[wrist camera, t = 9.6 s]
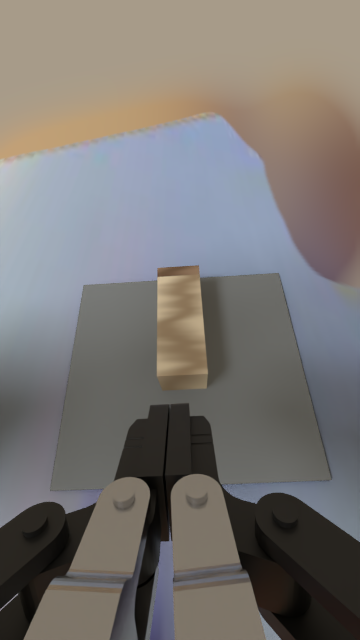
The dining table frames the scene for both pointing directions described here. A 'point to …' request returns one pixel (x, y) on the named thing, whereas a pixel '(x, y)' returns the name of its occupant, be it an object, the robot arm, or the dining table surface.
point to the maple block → (180, 330)
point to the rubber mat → (213, 402)
